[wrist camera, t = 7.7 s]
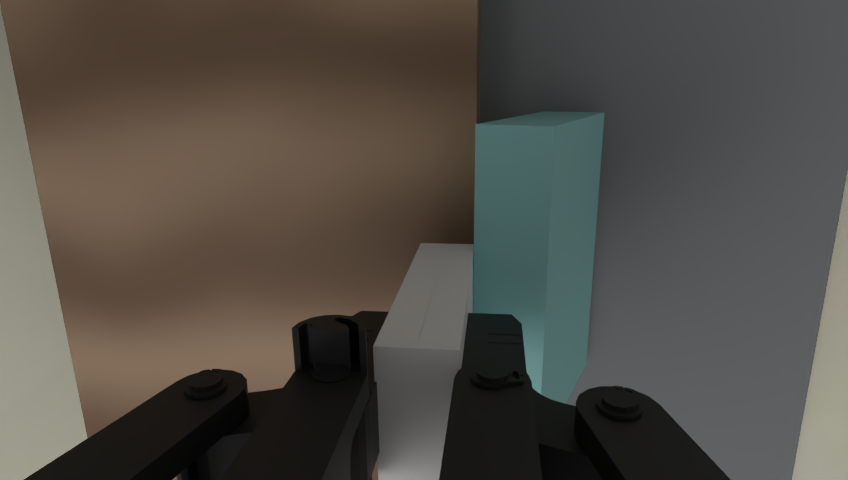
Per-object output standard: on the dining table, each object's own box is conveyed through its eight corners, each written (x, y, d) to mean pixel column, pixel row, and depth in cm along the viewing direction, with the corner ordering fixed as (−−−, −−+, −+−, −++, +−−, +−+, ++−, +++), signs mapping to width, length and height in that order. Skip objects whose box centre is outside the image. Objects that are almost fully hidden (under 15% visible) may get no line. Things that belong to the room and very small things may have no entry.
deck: (76, -76, 20) (-23, -112, 16) (481, -98, 18) (478, -144, 14) (164, 467, 26) (107, 535, 22) (477, 488, 24) (473, 565, 20)
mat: (481, -63, 19) (481, -65, 18) (886, -82, 17) (893, -85, 17) (477, 468, 24) (477, 473, 24) (785, 487, 23) (789, 492, 22)
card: (475, 124, 14) (554, 126, 13) (543, 111, 20) (604, 112, 19) (471, 437, 17) (537, 456, 16) (532, 353, 22) (586, 364, 21)
